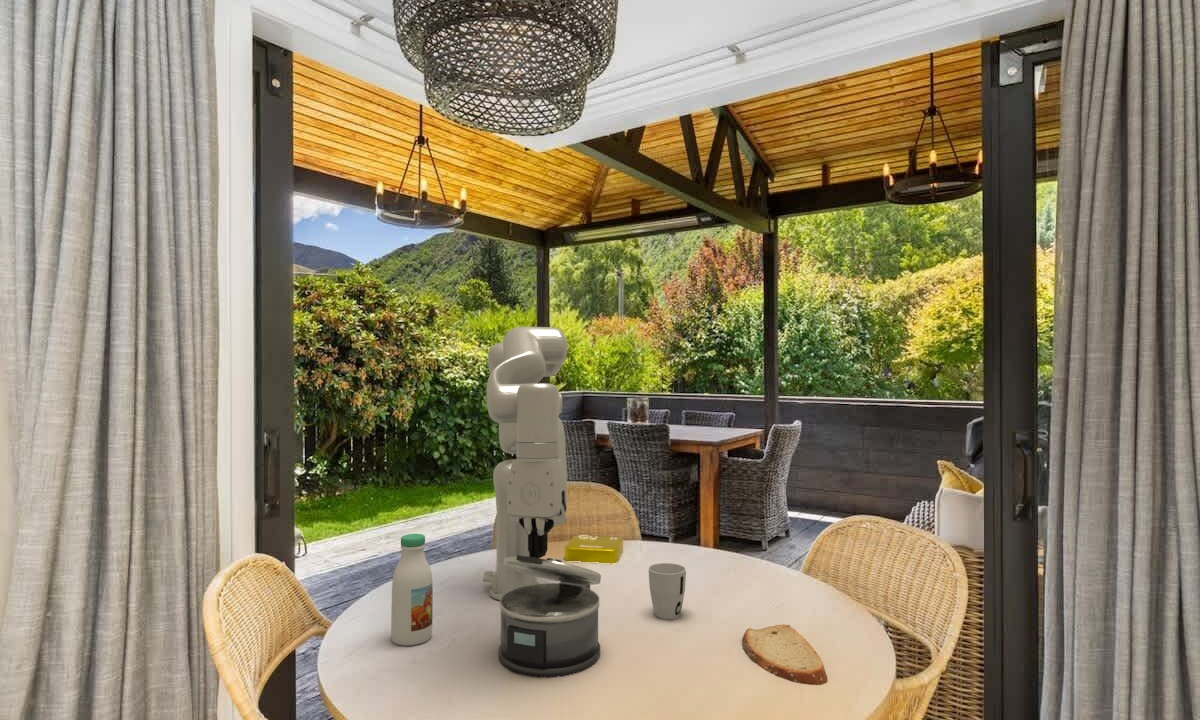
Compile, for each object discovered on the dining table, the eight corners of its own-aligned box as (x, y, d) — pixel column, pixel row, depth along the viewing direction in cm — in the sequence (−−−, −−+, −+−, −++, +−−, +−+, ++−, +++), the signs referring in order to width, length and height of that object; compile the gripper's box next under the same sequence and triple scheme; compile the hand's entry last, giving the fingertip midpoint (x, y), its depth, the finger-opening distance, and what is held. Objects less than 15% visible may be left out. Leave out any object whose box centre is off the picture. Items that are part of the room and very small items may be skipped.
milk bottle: (394, 650, 119) (396, 542, 120) (388, 635, 126) (389, 533, 127) (436, 642, 123) (437, 538, 123) (427, 628, 130) (428, 529, 130)
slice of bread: (822, 691, 105) (822, 668, 105) (720, 663, 115) (720, 642, 115) (847, 652, 120) (847, 632, 120) (755, 631, 130) (754, 612, 130)
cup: (684, 623, 133) (684, 575, 133) (646, 620, 134) (646, 572, 135) (687, 609, 141) (687, 564, 141) (650, 607, 142) (650, 561, 143)
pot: (477, 667, 112) (477, 609, 113) (535, 622, 133) (535, 574, 133) (574, 686, 105) (574, 625, 106) (619, 636, 126) (619, 585, 126)
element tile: (563, 563, 177) (563, 545, 178) (574, 549, 192) (574, 533, 192) (616, 566, 175) (616, 548, 175) (623, 551, 190) (623, 535, 190)
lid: (480, 556, 113) (483, 541, 114) (530, 578, 131) (533, 565, 132) (575, 568, 106) (577, 552, 107) (614, 589, 124) (616, 575, 125)
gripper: (490, 452, 113) (489, 557, 112) (566, 454, 108) (567, 565, 106) (511, 450, 120) (511, 549, 119) (584, 451, 115) (585, 555, 113)
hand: (537, 556), depth 113 cm, fingers closed
